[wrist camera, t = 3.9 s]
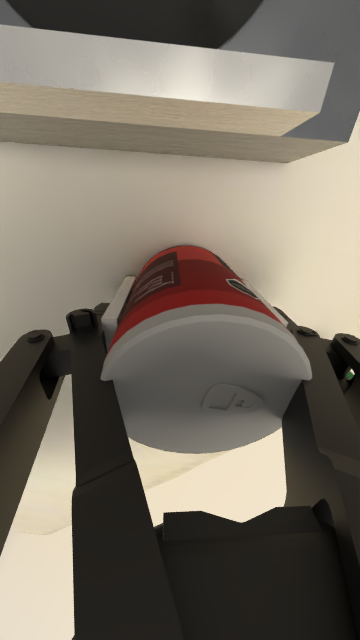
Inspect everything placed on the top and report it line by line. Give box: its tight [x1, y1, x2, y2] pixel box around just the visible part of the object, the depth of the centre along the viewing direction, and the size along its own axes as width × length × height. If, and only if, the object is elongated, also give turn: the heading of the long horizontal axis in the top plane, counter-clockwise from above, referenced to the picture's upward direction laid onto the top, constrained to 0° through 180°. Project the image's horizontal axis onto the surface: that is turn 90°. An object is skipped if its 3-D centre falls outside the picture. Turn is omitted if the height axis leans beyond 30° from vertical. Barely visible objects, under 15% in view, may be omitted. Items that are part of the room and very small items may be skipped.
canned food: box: [100, 246, 312, 454], centre depth 12 cm, size 8×8×11 cm
